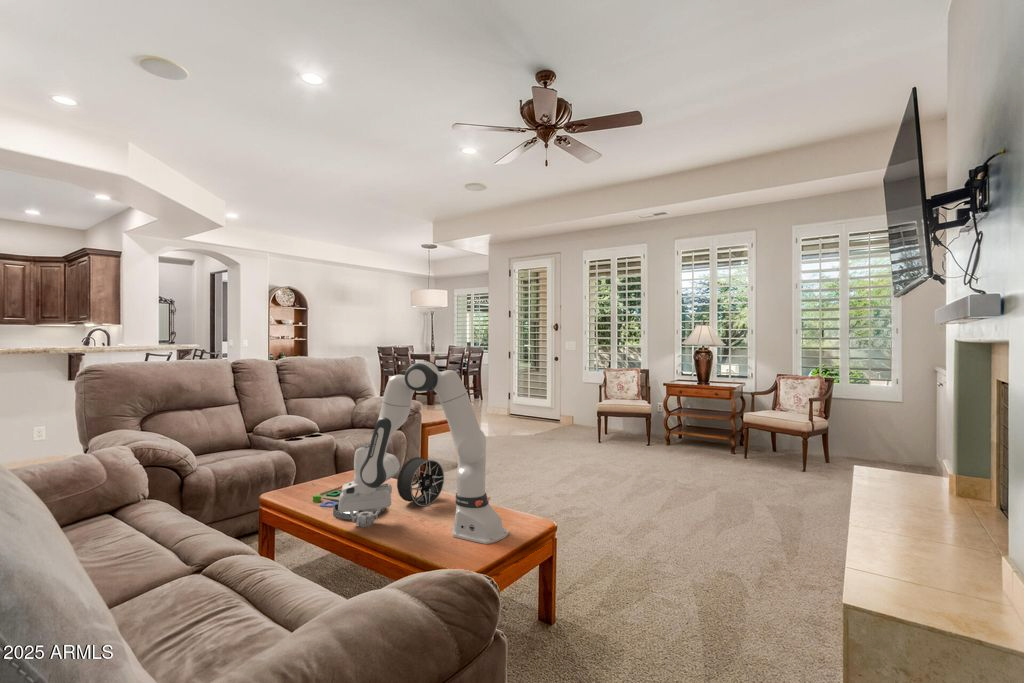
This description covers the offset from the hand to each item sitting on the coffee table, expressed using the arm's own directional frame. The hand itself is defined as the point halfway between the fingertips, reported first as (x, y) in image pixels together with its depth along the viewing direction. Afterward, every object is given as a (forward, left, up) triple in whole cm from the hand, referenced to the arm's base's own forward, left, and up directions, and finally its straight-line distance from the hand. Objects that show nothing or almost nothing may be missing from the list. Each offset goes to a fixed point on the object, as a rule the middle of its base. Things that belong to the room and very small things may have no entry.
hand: (365, 520), depth 196 cm
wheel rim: (+2, -31, -2) cm, 31 cm away
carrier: (+14, -7, -2) cm, 16 cm away
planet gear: (0, 0, -2) cm, 2 cm away
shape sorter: (+37, -16, -2) cm, 40 cm away
